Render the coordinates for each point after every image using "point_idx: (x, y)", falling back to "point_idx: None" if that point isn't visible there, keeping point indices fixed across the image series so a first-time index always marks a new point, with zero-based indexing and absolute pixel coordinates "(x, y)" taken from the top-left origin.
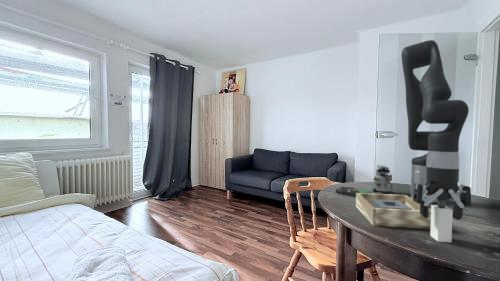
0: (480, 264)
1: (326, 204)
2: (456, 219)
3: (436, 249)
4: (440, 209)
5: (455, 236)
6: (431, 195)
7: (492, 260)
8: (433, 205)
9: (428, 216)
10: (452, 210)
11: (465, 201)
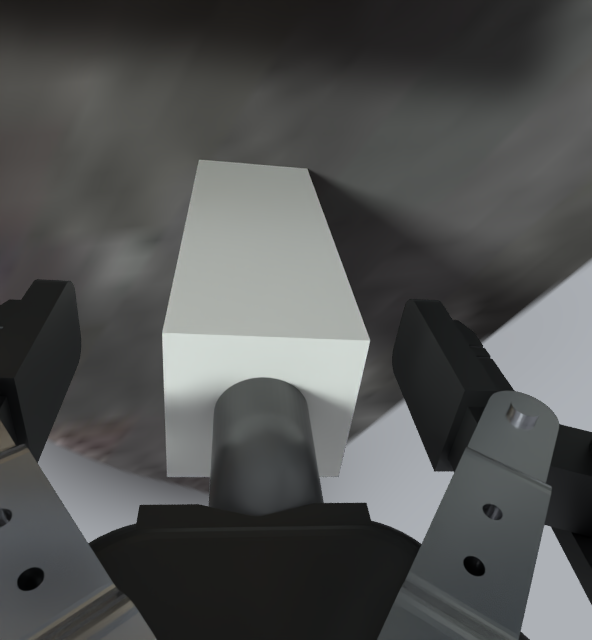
0: None
1: None
2: (395, 344)
3: (113, 364)
4: (188, 473)
5: (425, 152)
6: None
7: (353, 428)
8: (188, 350)
9: (75, 369)
10: (337, 466)
11: (579, 553)
